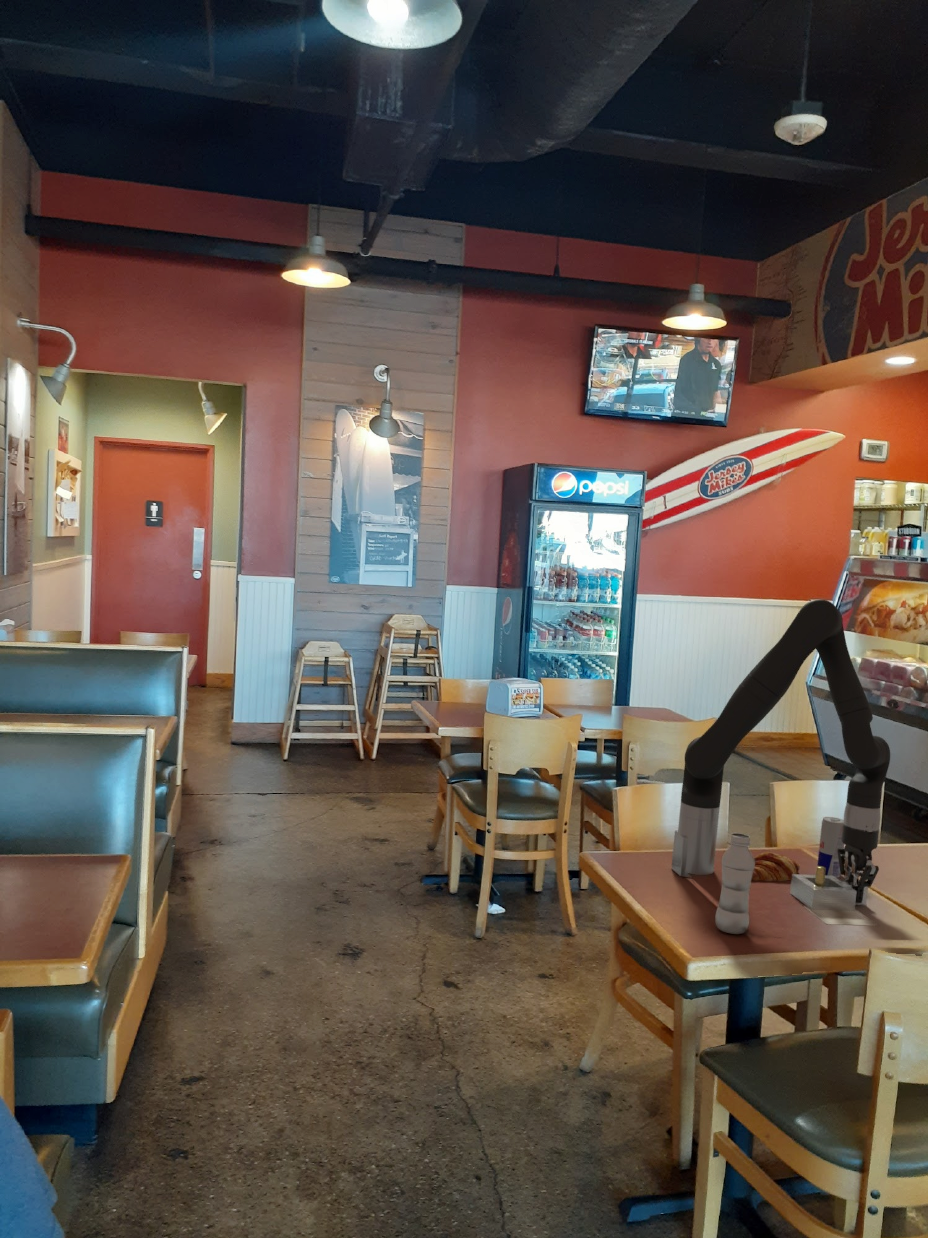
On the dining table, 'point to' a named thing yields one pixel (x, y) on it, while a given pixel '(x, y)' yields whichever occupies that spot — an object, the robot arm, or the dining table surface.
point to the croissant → (774, 867)
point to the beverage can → (830, 845)
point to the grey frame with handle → (825, 893)
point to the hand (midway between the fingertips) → (853, 899)
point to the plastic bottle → (735, 886)
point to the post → (820, 876)
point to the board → (842, 917)
